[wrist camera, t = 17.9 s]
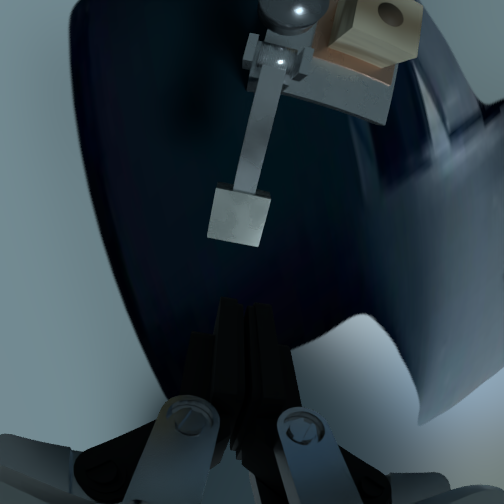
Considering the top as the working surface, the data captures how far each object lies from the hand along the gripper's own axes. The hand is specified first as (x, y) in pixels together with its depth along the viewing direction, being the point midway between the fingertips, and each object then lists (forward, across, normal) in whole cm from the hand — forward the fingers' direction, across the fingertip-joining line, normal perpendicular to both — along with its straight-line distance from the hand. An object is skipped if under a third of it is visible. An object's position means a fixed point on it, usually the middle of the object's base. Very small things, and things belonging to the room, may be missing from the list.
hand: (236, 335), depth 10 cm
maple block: (+21, -8, -20) cm, 30 cm away
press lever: (+15, 0, -9) cm, 17 cm away
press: (+23, -6, -19) cm, 31 cm away
